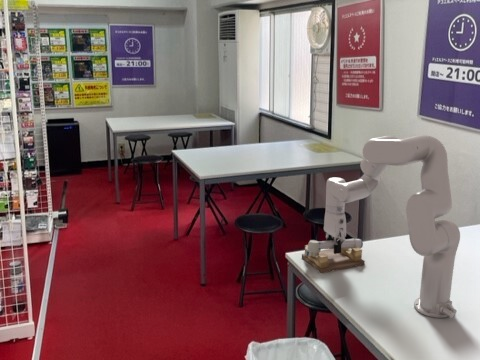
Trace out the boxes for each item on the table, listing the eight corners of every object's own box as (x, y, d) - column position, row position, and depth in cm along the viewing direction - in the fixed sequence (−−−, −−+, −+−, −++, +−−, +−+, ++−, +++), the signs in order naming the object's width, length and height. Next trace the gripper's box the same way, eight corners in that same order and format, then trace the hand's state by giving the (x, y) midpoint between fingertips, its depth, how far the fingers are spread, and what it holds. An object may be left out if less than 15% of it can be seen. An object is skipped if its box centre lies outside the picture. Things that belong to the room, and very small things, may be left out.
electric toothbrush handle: (364, 240, 209) (310, 241, 200) (361, 256, 211) (308, 257, 202) (357, 236, 214) (304, 236, 205) (355, 251, 215) (302, 252, 207)
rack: (364, 264, 206) (365, 250, 205) (321, 273, 199) (322, 259, 198) (342, 249, 221) (343, 236, 219) (301, 257, 213) (302, 244, 212)
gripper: (355, 213, 197) (353, 256, 202) (331, 201, 212) (330, 241, 217) (338, 216, 195) (336, 260, 199) (316, 203, 210) (314, 244, 215)
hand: (333, 250), depth 208 cm, fingers closed on electric toothbrush handle, 4 cm apart
